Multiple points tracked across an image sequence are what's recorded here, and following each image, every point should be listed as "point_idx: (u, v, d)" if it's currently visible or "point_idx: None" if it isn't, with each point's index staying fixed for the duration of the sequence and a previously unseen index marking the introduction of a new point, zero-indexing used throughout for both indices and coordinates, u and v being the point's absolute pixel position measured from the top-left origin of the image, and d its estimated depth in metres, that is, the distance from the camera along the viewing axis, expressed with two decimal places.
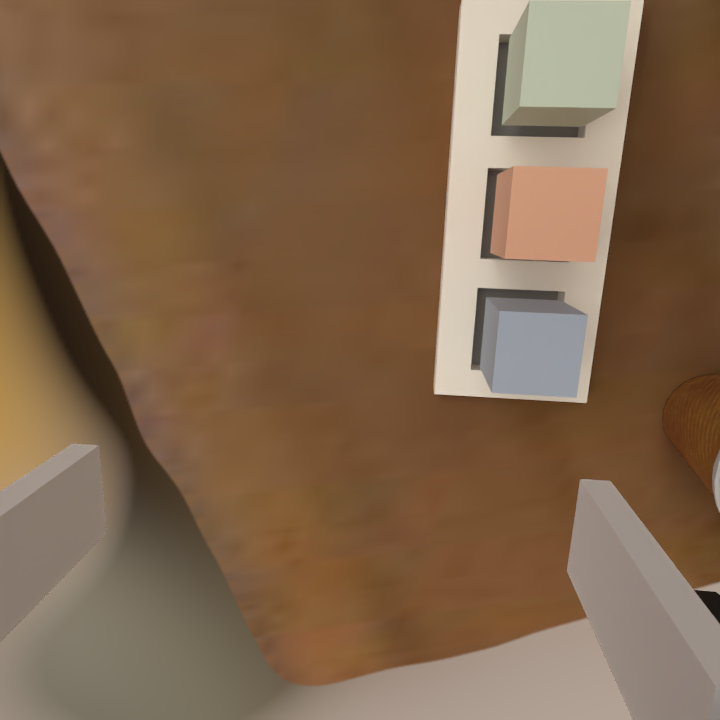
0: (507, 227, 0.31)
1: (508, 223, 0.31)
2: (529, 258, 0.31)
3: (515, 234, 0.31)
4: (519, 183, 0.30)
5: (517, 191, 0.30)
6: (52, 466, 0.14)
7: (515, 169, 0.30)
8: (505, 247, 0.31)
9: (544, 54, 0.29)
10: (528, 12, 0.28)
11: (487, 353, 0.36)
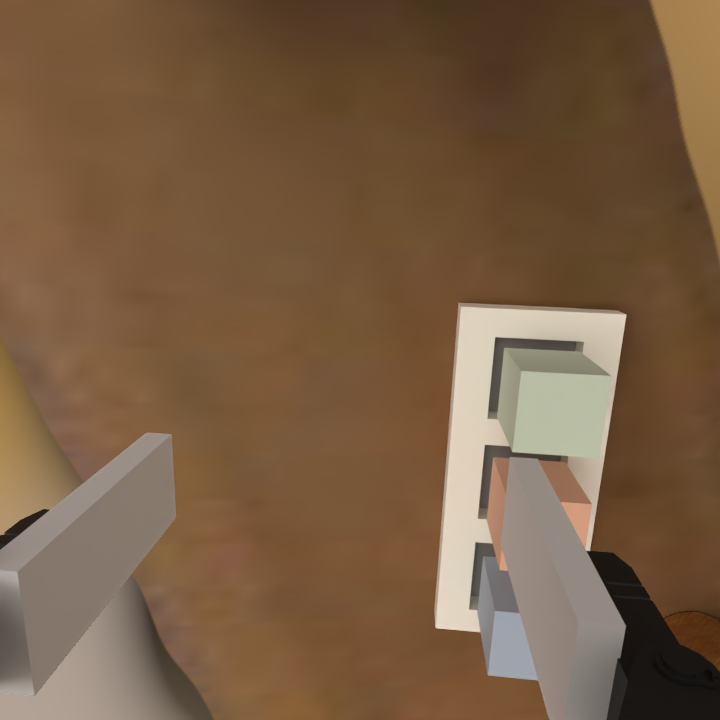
0: None
1: None
2: None
3: None
4: None
5: None
6: (134, 452, 0.15)
7: None
8: (500, 559, 0.35)
9: (534, 413, 0.32)
10: (520, 379, 0.32)
11: (484, 620, 0.39)
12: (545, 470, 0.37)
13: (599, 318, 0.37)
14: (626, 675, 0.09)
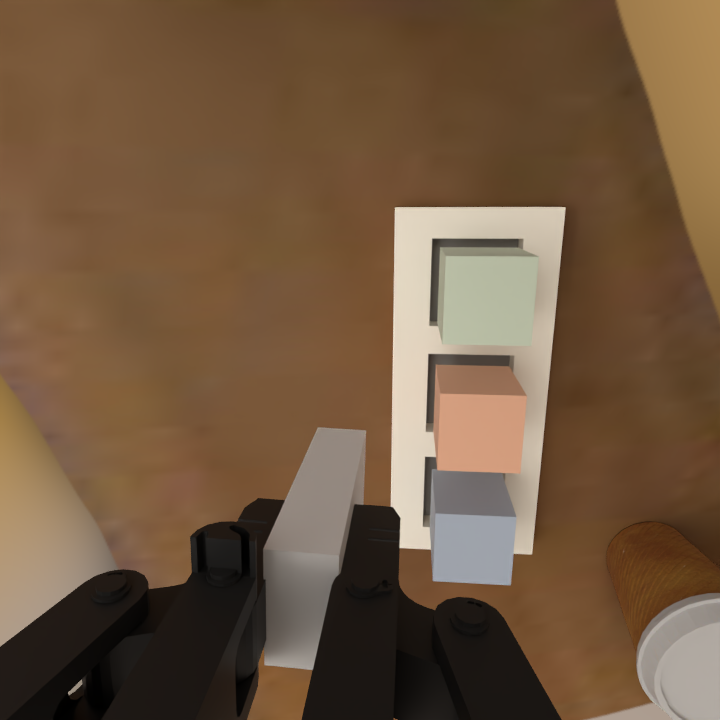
0: (438, 443, 0.34)
1: (438, 440, 0.33)
2: (459, 470, 0.34)
3: (445, 450, 0.33)
4: (446, 408, 0.33)
5: (445, 414, 0.33)
6: (321, 445, 0.16)
7: (442, 396, 0.33)
8: (437, 459, 0.34)
9: (462, 301, 0.31)
10: (445, 265, 0.31)
11: None
12: (486, 372, 0.36)
13: (538, 212, 0.36)
14: None
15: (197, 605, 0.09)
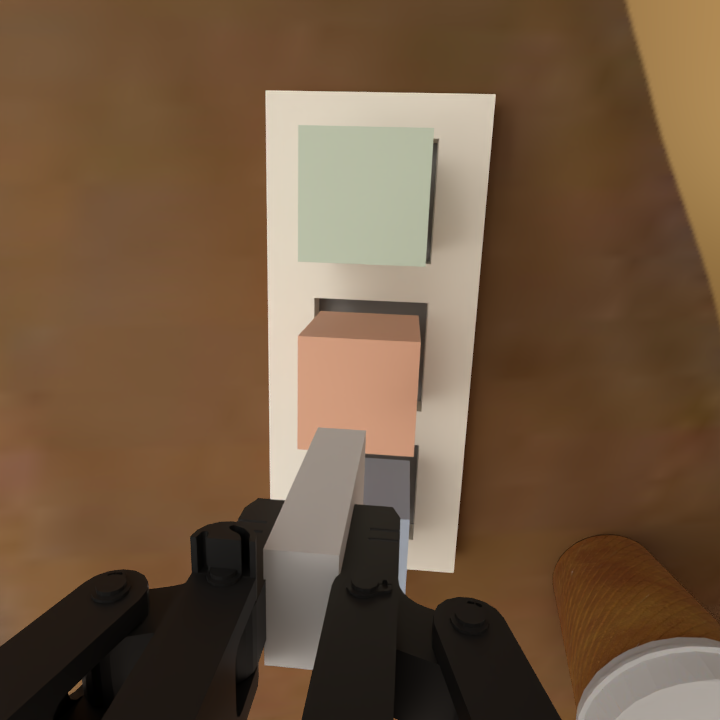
0: None
1: (298, 406, 0.23)
2: None
3: (308, 420, 0.23)
4: (307, 358, 0.23)
5: (305, 367, 0.23)
6: (321, 445, 0.16)
7: (300, 340, 0.23)
8: None
9: (325, 196, 0.21)
10: (299, 140, 0.21)
11: None
12: (382, 319, 0.26)
13: (458, 100, 0.26)
14: None
15: (197, 605, 0.09)
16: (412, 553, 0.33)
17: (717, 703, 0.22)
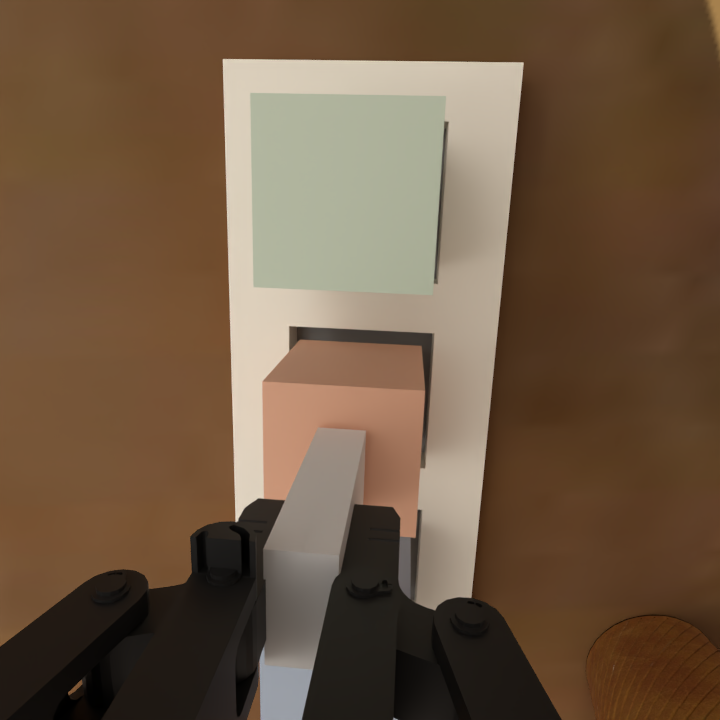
0: None
1: (265, 471, 0.18)
2: None
3: (277, 489, 0.18)
4: (275, 409, 0.17)
5: (273, 422, 0.17)
6: (321, 445, 0.16)
7: (265, 387, 0.17)
8: None
9: (290, 195, 0.15)
10: (252, 115, 0.14)
11: None
12: (376, 353, 0.21)
13: (474, 71, 0.20)
14: None
15: (197, 605, 0.09)
16: None
17: None
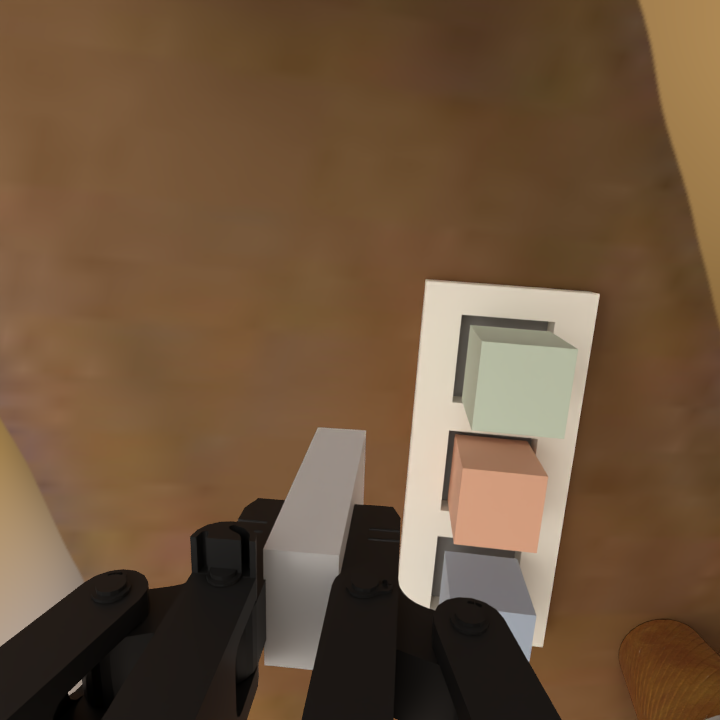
0: (456, 517, 0.34)
1: (457, 514, 0.34)
2: (476, 545, 0.34)
3: (463, 524, 0.34)
4: (467, 482, 0.33)
5: (466, 489, 0.33)
6: (321, 445, 0.16)
7: (464, 471, 0.33)
8: (454, 533, 0.34)
9: (496, 388, 0.30)
10: (481, 350, 0.30)
11: None
12: (506, 447, 0.37)
13: (571, 297, 0.35)
14: None
15: (197, 605, 0.09)
16: None
17: None
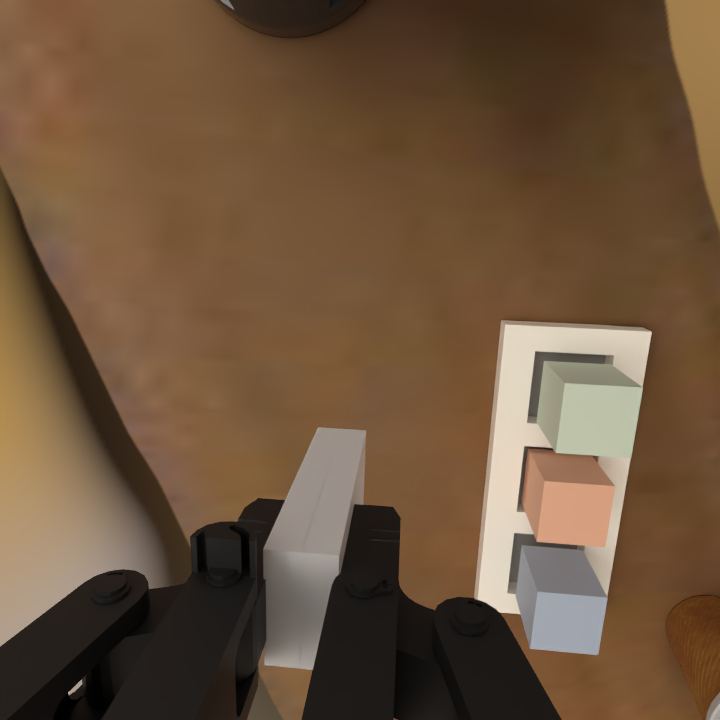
0: (539, 520, 0.41)
1: (539, 518, 0.41)
2: (555, 542, 0.41)
3: (545, 526, 0.41)
4: (548, 492, 0.40)
5: (547, 497, 0.41)
6: (321, 445, 0.16)
7: (545, 483, 0.40)
8: (537, 533, 0.42)
9: (576, 419, 0.37)
10: (563, 390, 0.37)
11: (524, 601, 0.44)
12: (573, 459, 0.44)
13: (628, 334, 0.42)
14: None
15: (197, 605, 0.09)
16: None
17: None
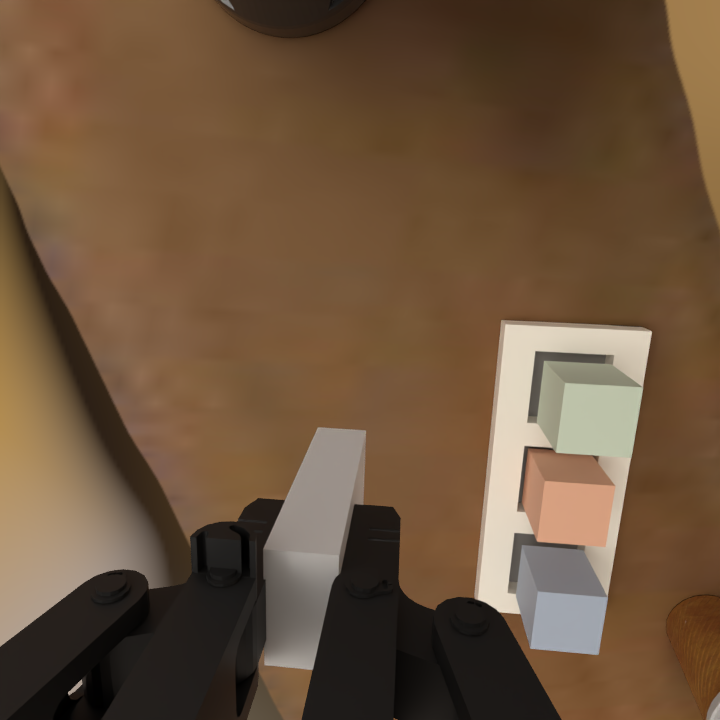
0: (539, 520, 0.41)
1: (540, 517, 0.41)
2: (555, 542, 0.41)
3: (545, 526, 0.41)
4: (548, 492, 0.40)
5: (547, 497, 0.41)
6: (321, 445, 0.16)
7: (546, 483, 0.40)
8: (537, 533, 0.42)
9: (576, 419, 0.37)
10: (563, 389, 0.37)
11: (524, 601, 0.44)
12: (573, 459, 0.44)
13: (628, 334, 0.42)
14: None
15: (197, 605, 0.09)
16: None
17: None
